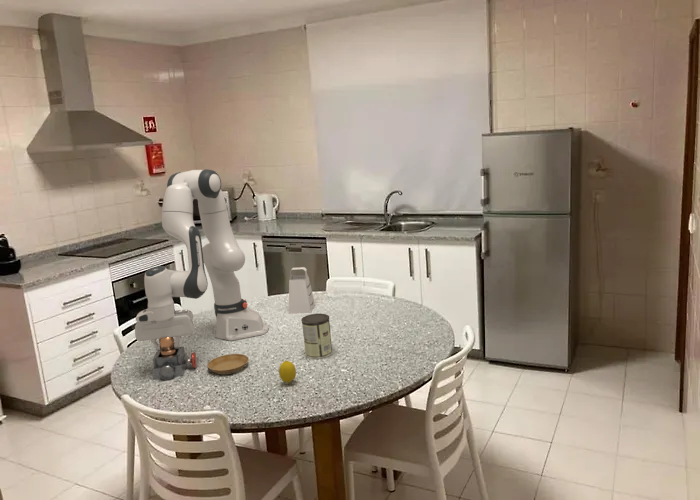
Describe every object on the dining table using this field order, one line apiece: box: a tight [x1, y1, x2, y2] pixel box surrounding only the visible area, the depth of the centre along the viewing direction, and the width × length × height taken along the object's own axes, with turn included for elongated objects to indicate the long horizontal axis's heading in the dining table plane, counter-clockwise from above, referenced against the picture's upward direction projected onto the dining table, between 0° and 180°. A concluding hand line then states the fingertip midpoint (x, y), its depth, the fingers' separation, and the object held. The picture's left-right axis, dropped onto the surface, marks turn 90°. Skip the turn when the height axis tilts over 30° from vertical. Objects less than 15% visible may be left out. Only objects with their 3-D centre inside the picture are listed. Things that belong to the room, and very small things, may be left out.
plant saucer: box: [206, 353, 250, 375], centre depth 205 cm, size 15×15×3 cm
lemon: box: [278, 360, 297, 384], centre depth 187 cm, size 6×6×8 cm
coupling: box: [158, 337, 176, 357], centre depth 204 cm, size 5×5×8 cm
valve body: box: [152, 346, 198, 381], centre depth 206 cm, size 16×14×7 cm
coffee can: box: [301, 313, 333, 360], centre depth 209 cm, size 10×10×14 cm
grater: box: [288, 266, 316, 315], centre depth 263 cm, size 10×10×20 cm
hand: (167, 348), depth 205 cm, fingers closed on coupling, 5 cm apart
